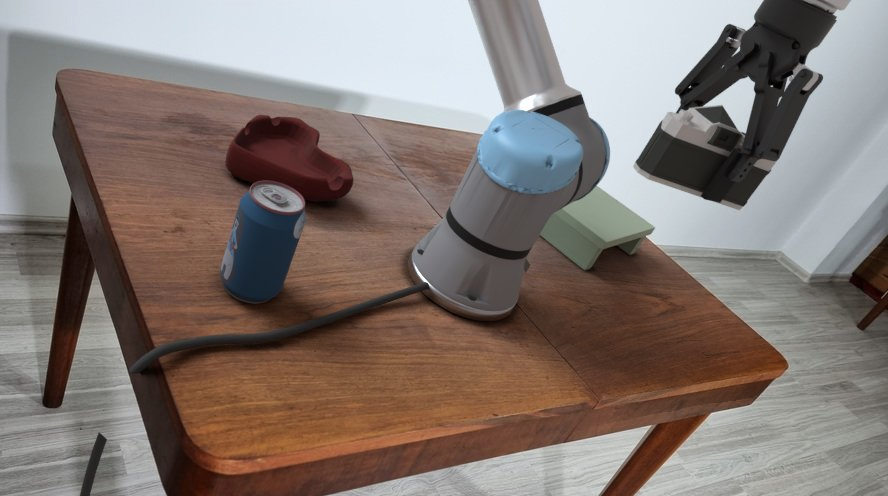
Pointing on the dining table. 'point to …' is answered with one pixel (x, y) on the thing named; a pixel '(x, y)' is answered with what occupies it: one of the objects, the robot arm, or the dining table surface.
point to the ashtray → (288, 159)
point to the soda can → (262, 241)
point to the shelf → (595, 228)
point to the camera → (698, 153)
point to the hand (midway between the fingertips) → (685, 177)
